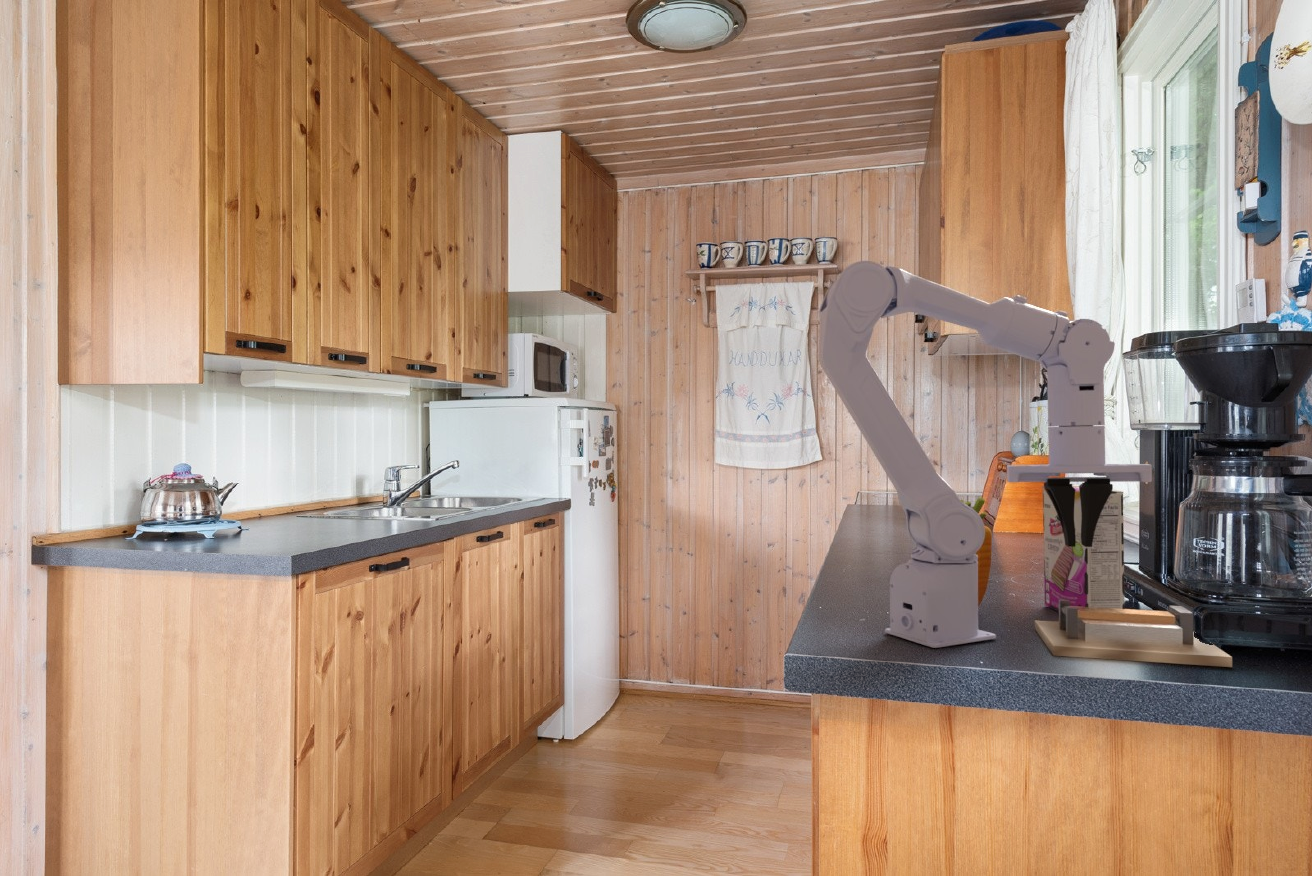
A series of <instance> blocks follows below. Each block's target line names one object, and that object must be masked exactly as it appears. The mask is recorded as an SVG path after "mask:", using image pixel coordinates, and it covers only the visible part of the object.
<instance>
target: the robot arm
mask: <svg viewBox="0 0 1312 876" xmlns="http://www.w3.org/2000/svg"><path fill="white" fill-rule="evenodd" d="M1027 302H1028V298H1027V297H1026V296H1022V295H1017V294H1016V295H1015V296H1012V297H1011V298H1010V297H1001V298H999V299H996V300H995V301H994V302H991V303H989V302H988V301H987V302H986V301H984V300H982V299H978V298H976V297H973V296H971V295H968V294H965V293H963V292H960V291H957V290H955V289H953V288H949V287H948V286H944V285H942V284H939V283H936V282H933V281H931V280H928V279H927V278H923V277H920V276H918V275H915V274H913V273H910V272H908V271H907V270H904V269H902V268H900V267H895V266H889V265H886V266H885V267H884V266H883V265H881V264H879V263H878V262H875V261H871V260H860V261H856V262H853V263H851V264H849V265H847V267H845V268H844V269H843V270H842V272H841V273H840V275H839V276H838V278H837V279H836V280H834V282H832V283H831V285H830V286H829V287H828V288H827V291H826V293H825V295H824V297H823V300H822V301H821V304H820V307H819V310H818V318H819V330H818V331H819V332H818V333H819V336H818V337H819V338H818V339H819V340H818V362H819V365H820V367H821V368H822V370H823V372H824V374H825V376H826V377H827V378H828V380H829V381H830V384H831V385H832V387H833V389H834V390H835V391H836V393H837V395H838V397H839V398H840V400H841V401H842V404H843V405H844V406H845V408H846V410H847V412H848V413H849V415H850V416H851V418H852V420H853V421H854V423H855V425H856V426H857V428H858V429H859V431H860V432H861V435H862V436H863V438H864V439H865V441H866V443H867V444H868V446H869V448H870V449H871V451H872V452H873V454H874V456H875V457H876V459H877V460H878V462H879V465H881V467H882V469H883V471H884V473H885V474H886V475H887V477H888V479H889V481H890V482H891V484H892V485H893V488H894V489H895V490H896V495H897V498H898V503H899V505H900V507H901V508H902V509H903V513H904V514H905V517H906V529H907V533H908V535H909V537H910V538H911V540H912V541H913V542H914V543H915V545H914V546H913V548H912V550H911V551H910V559H909V560H908V561H907V562H904V563H901V564H899V565H896V567H895V568H894V569H893V571H892V573H891V575H890V578H889V627H887V628H885V629H884V631H885V634H887V635H888V634H889V635H893V636H894V637H898V638H901V639H905V640H907V641H910V642H913V643H917V644H919V645H920V644H921V645H923V646H925V647H930V648H933V649H934V648H935V649H937V648H943V647H944V648H945V647H951V646H957V645H963V644H968V643H969V644H970V643H975V642H983V641H989V640H994V639H997V634H996V633H992V632H988V631H986V630H981V629H979V607H978V561H977V560H978V556H977V555H976V554H975V553H976V552H977V551H978V550H979V549H980V547H981V546H982V544H983V541H984V537H985V527H984V525H985V524H984V521H983V519H981V517H980V513H977V512H976V511H975V510H974V509H973V508H972V506H971V507H969V506H967V505H966V504H964V503H965V502H964V503H963V502H962V501H961V500H962V499H960V498H959V496H958V495H957V493H956V492H955V489H953V488H952V486H951V485H950V484H948V482H947V481H946V480H945V479H944V478H943V477H942V476H941V475H940V474H939V473H938V472H937V469H936V468H935V466H934V465H933V463H932V462H931V460H930V459H929V457H928V455H927V454H926V452H925V451H924V449H923V446H921V443H920V442H919V440H918V439H917V437H916V435H915V434H914V432H913V431H912V429H911V427H910V425H909V424H908V422H907V421H906V419H905V418H904V416H903V414H902V413H901V411H900V409H899V407H897V405H896V403H895V401H894V399H893V398H892V396H891V395H890V393H889V392H888V390H887V388H886V386H885V385H884V383H883V381H882V380H881V378H880V376H879V375H878V373H877V371H876V370H875V368H874V366H873V365H872V363H871V362H870V360H869V359H868V357H867V350H868V347H869V344H870V342H871V338H872V335H873V332H874V327H875V326H876V325H877V323H878V321H879V320H880V319H885V318H889V317H894V316H897V315H901V314H907V313H913V314H917V315H921V316H926V317H928V318H932V319H936V320H939V321H943V322H946V323H949V324H954V325H956V326H960V327H965V328H966V329H971V330H975V331H977V333H978V334H979V337H980V338H981V340H982V342H983V343H984V345H986V346H988V347H992V348H994V349H998V350H1001V351H1004V352H1007V353H1010V354H1013V355H1016V356H1019V357H1022V358H1025V359H1028V360H1031V361H1034V362H1039V364H1040V365H1041V366H1042V368H1043V369H1044V370H1046V371H1047V373H1046V374H1047V375H1046V376H1047V389H1046V390H1047V425H1048V426H1047V427H1048V428H1047V430H1048V431H1047V433H1048V435H1047V436H1048V437H1047V438H1048V464H1021V465H1020V464H1017V465H1016V464H1013V465H1009V464H1007V465H1006V481H1007V483H1010V484H1011V483H1043V486H1044V487H1045V490H1046V492H1047V494H1048V495H1049V497H1050V499H1051V501H1052V503H1053V505H1054V507H1055V510H1056V512H1057V515H1058V517H1059V520H1060V523H1061V526H1062V530H1063V534H1064V539H1065V545H1067V546H1069V547H1075V544H1076V536H1075V524H1074V502H1075V488H1073V487H1072V485H1073V484H1072V482H1073V483H1076V482H1077V483H1079V482H1080V483H1081V484H1079V485H1080V486H1079V490H1080V500H1081V513H1082V520H1081V544H1082V545H1083V546H1085V547H1092V543H1093V537H1094V533H1095V529H1096V525H1097V522H1098V519H1099V517H1100V514H1101V512H1102V510H1103V507H1104V505H1105V503H1106V502H1107V500H1108V498H1109V496H1110V495H1111V492H1112V490H1114V489H1113V486H1114V485H1113V484H1112V482H1114V483H1115V482H1116V483H1117V482H1125V483H1126V482H1140V483H1152V481H1153V472H1152V471H1153V470H1152V468H1153V467H1152V464H1147V463H1133V464H1132V463H1115V464H1114V463H1106V435H1105V434H1106V432H1105V431H1106V430H1105V428H1106V426H1105V422H1106V421H1105V420H1106V419H1105V383H1104V378H1105V376H1104V373H1105V371H1104V370H1105V366H1106V364H1107V363H1108V362H1109V361H1110V359H1111V357H1112V356H1113V353H1114V351H1115V341H1112V340H1111V339H1110V338H1111V337H1110V335H1109V333H1108V331H1107V329H1106V328H1103V325H1102V324H1101V323H1100V322H1098V321H1096V320H1093V319H1090V318H1079V319H1075V320H1072V321H1071V320H1070V319H1069V317H1068V313H1067V312H1066V311H1063V310H1057V311H1055V312H1053V311H1050V310H1047V309H1044V308H1042V307H1041V308H1040V307H1037V306H1035V305H1032V304H1028V303H1027ZM1061 474H1093V476H1072V477H1071V476H1068V477H1067V476H1066V477H1065V476H1064V477H1063V476H1061Z"/></svg>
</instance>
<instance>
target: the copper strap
mask: <svg viewBox="0 0 1312 876" xmlns="http://www.w3.org/2000/svg"><path fill="white" fill-rule="evenodd" d="M1066 607H1076V608H1077V609H1078V618H1083V619H1100V620H1117V621H1134V622H1152V623H1171V624H1175V616H1174V615H1172V614H1171V613H1169V610H1167V611H1166V610H1148V609H1132V608H1125V609H1116V608H1098V607H1080V606H1067V605H1064V606H1063V607H1062V608H1061V610H1062V612H1063V613H1064V614H1065V615H1066Z"/></svg>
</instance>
